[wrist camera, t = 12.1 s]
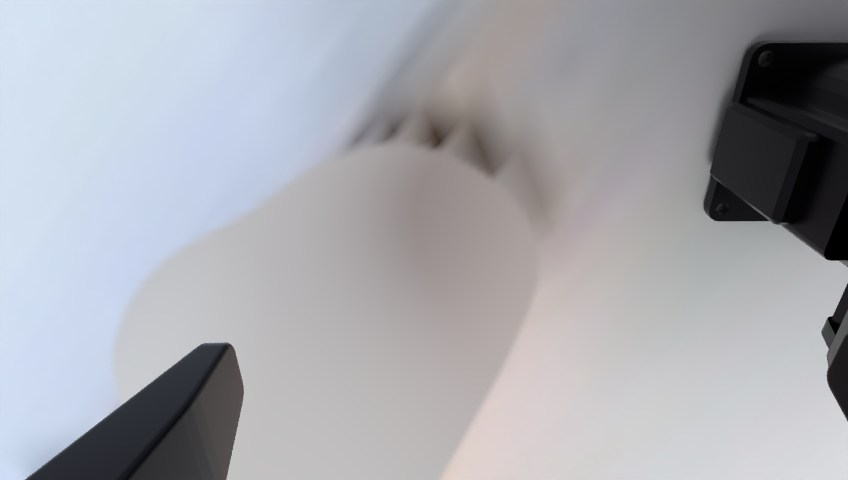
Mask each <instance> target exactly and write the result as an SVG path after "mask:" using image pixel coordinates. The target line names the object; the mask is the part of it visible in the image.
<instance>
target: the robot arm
mask: <svg viewBox="0 0 848 480" xmlns="http://www.w3.org/2000/svg"><path fill="white" fill-rule="evenodd" d="M765 51H766V52H767V57H766V59H765V61H764V62H763V63H761V64H758V58H759V56H760V55H761V54H762V53H763V52H765ZM710 173H711V175H712V179H711V182H710V186H709V190H708V193H707V197H706V201H705V205H704V211H705V213H706V214H707V215H708V216H709V217H710V218H712V219H713V220H715V221H771V222H772V223H773V224H776V225H781V226H783V227H784V228H785V229H787V230H788V231H789V232H791V233H792V234H793V235H795V236H796V237H797V238H799V239H800V240H801V241H803V242H804V243H805V244H807V245H808V246H809V247H811V248H812V249H813V250H815V251H816V252H817V253H819V254H820V255H821V256H823V257H824V258H825V259H827V260H839V261H840V262H842V263H843V264H844V265H846V266H847V267H848V41H762V42H757V43H756V44H754V45H752V46H751V47H750V48H749V49H748V51H747V52H746V54H745V57H744V60H743V64H742V68H741V71H740V75H739V79H738V82H737V86H736V90H735V93H734V97H733V101H732V104H731V105H730V106H729V107H728V108H727V110H726V114H725V118H724V121H723V125H722V129H721V133H720V136H719V140H718V144H717V148H716V151H715V155H714V159H713V163H712V166H711V170H710ZM723 203H724V206H723V207H722V209H720V210H718V211H716V208H717V206H719V205H720V204H723ZM821 333H822V336H823V338H824V340H825V342H826V344H827V346H828V348H829V351H828V353H827V361H828V367H829V368H828V371H827V382H828V385H829V387H830V390H831V391H832V393H833V395H834V397H835V399H836V401H837V402H838V404H839V406H840V408H841V410H842V412H843V413H844V415H845V417H846V419H847V421H848V284H847V286H846V288H845V291H844V293H843V295H842V297H841V300H840V302H839V304H838V306H837V308H836V311H835V313H834V315H833V316H832V317H828V318H827V320H826V323H825V325H824V327H823V329H822V332H821ZM243 395H244V389H243V382H242V378H241V373H240V369H239V365H238V361H237V357H236V353H235V350H234V348H233V346H232V345H231V344H229V343H205V344H201V345H200V346H198V347H197V348H196V349H194V350H193V351H191V352H190V353H189V354H188V355H186V356H185V357H184V358H182V359H181V360H180V361H178V362H177V363H176V364H175V365H173V366H172V367H171V368H169V369H168V370H167V371H165V372H164V373H163V374H162V375H160V376H159V377H158V378H156V379H155V380H154V381H153V382H151V383H150V384H149V385H147V386H146V387H145V388H144V389H142V390H141V391H140V392H138V393H137V394H136V395H134V396H133V397H132V398H130V399H129V400H128V401H127V402H125V403H124V404H123V405H121V406H120V407H119V408H117V409H116V410H115V411H114V412H112V413H111V414H110V415H108V416H107V417H106V418H104V419H103V420H102V421H101V422H99V423H98V424H97V425H95V426H94V427H93V428H91V429H90V430H89V431H88V432H86V433H85V434H84V435H82V436H81V437H80V438H78V439H77V440H76V441H75V442H73V443H72V444H71V445H69V446H68V447H67V448H66V449H64V450H63V451H62V452H60V453H59V454H58V455H56V456H55V457H54V458H53V459H51V460H50V461H49V462H47V463H46V464H45V465H43V466H42V467H41V468H40V469H38V470H37V471H36V472H34V473H33V474H32V475H30V476H29V477H28V478H27V479H25V480H226V478H227V474H228V469H229V464H230V459H231V455H232V450H233V445H234V440H235V436H236V431H237V426H238V421H239V417H240V412H241V407H242V402H243Z"/></svg>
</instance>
